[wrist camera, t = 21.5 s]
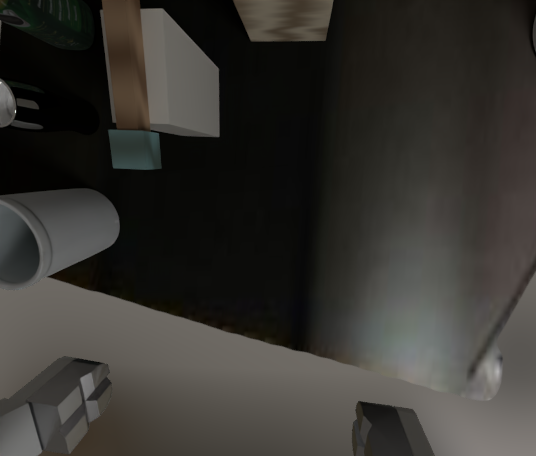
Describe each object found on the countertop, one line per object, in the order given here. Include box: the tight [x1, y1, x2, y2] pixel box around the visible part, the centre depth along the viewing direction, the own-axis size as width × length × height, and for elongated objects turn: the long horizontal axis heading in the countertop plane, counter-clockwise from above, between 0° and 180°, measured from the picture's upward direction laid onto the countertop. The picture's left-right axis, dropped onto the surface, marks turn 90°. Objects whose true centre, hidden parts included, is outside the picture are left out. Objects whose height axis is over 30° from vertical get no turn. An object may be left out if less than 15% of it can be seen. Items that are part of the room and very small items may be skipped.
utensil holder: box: [0, 188, 120, 290], centre depth 46 cm, size 15×15×18 cm
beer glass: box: [0, 77, 100, 135], centre depth 41 cm, size 7×7×15 cm
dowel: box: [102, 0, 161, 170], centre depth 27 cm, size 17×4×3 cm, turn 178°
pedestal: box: [100, 9, 219, 137], centre depth 36 cm, size 7×11×18 cm, turn 178°
